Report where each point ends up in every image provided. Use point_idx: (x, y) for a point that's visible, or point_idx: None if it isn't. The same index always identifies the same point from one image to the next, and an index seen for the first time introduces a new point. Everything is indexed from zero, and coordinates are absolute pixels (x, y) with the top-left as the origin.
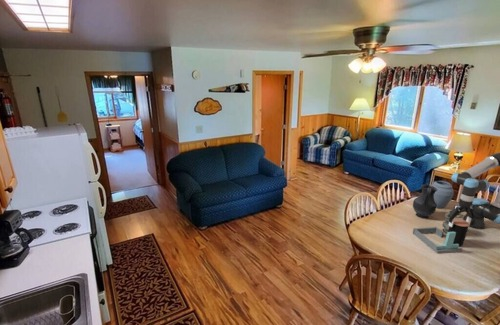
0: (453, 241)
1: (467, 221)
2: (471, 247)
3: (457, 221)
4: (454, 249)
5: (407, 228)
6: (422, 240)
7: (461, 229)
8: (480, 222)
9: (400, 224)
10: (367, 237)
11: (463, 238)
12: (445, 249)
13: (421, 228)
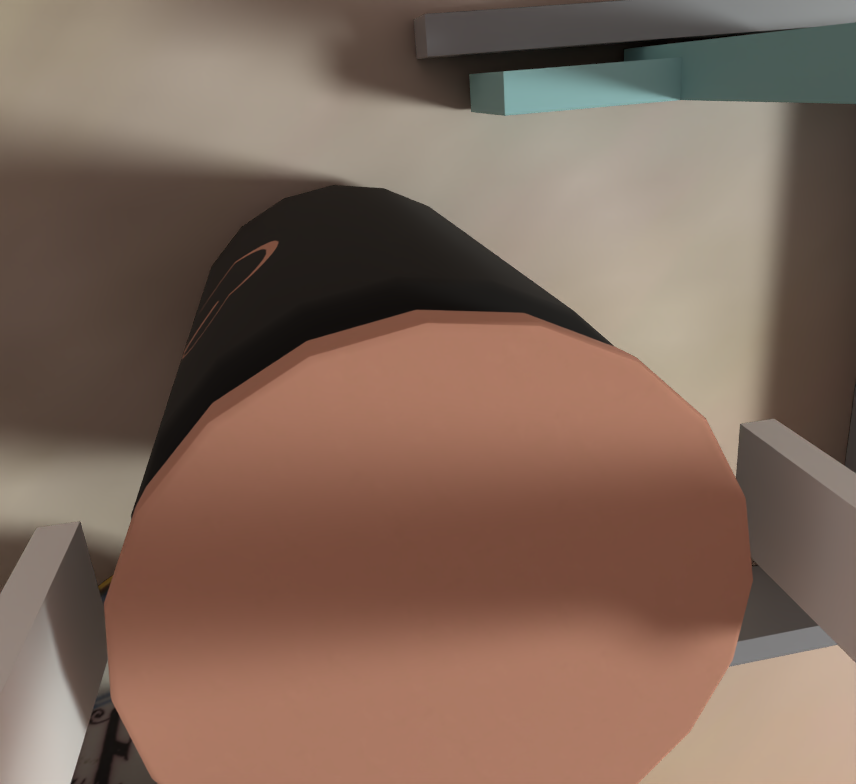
0: (752, 34)
1: (56, 712)
2: (81, 162)
3: (541, 656)
4: (609, 10)
5: (825, 687)
6: None
7: (523, 289)
8: None
9: (842, 773)
10: None
11: (320, 217)
12: (791, 21)
13: (796, 640)
